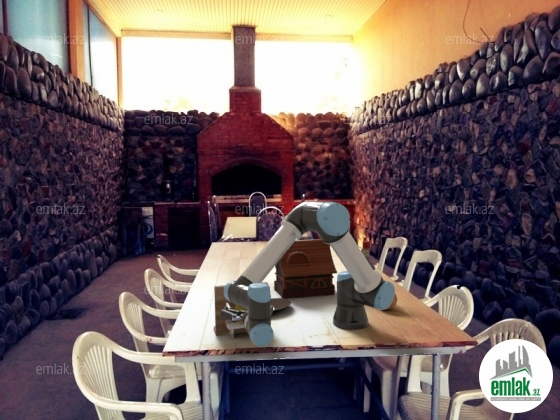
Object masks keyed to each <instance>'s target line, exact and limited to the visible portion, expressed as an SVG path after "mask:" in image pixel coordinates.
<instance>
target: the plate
mask: <svg viewBox="0 0 560 420" xmlns="http://www.w3.org/2000/svg"><path fill="white" fill-rule="evenodd" d="M291 304H292V301H291V299H284V298H281V297H271V305H273V312H275V311H278V310H282V309H285V308H287V307H289V306H291Z"/></svg>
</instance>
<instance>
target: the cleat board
mask: <svg viewBox="0 0 560 420" xmlns="http://www.w3.org/2000/svg"><path fill="white" fill-rule="evenodd" d="M262 283H265V284H268V285H269V283H268V281H262ZM225 285H226V284H224V285H214V286H213V287H214V290H213V291H214V293H213V294H214V326H213V330H214V334H215V336H226V335H229V336H230V337H231V339H234V338H235V337H234V336H235V335H236V334H246V333H248V332H247V330H246V328H245V327H244V325H243V324H240V322H239V320H237V321H236V322H235V323H234V322H232V321H231V320H229V319H226V318H224V317H222V316H221V309H224V308H225V307H226V303H228V304H229V306H230V309H233V310H236V309H235V304H233V303H231V302H230V301H228V300H227V299H226V298H225V296H224V287H225Z"/></svg>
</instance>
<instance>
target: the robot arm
mask: <svg viewBox="0 0 560 420" xmlns="http://www.w3.org/2000/svg"><path fill="white" fill-rule="evenodd" d="M350 219H351V216H350V213H349V210H348V209H347V208H346V207H345V206H344V205H342V204H341V203H338V202H334V201H321V200H320V201H318V200H317V201H316V200H306V201H303V202H301V203H300V204H298V205H296V206H295V207H294V208H293V209H291V211H289V213H288V214H286V215H285V217H284V218H283V219H282V220H281V222H280V227H279V228H278V229H277V230H276V232H275V233H274V234H273V235H272V237H271V238H270V239H269V240H268V242H267V243H266V244H265V245H264V246H263V247H262V248H261V250H260V251H259V252H258V254H257V255H256V256H255V257H254V259H253V260H252V261H251V262H250V263H249V265H248V266H247V267H246V268H245V270H243V272H242V273H241V274H240V275H239V277H237V279H236V280H230V281H228V282H227V283H226V284H224V285H225V287H224V296H225V298H226V299H227V300H228V301H230V302H231V303H233V304H237V305H239V306H241V307H243V308H246V309H248V310H247V311H243V310H240V311H237V310H233V309H230V306H229V304H228V303H226V307H225V308H224V309H221V316H222V317H224V318H226V319H229V320H231V321H232V322H234V323H235V322H236V321H237V320H240V321H242V323H243V325H244V327H245V328H246V330H247V332H246V333H247V334H248V336H249V339H250V341H251V342H252V343H253V345H255V346H257V347H259V348H265V347H267V346H269V345H270V344H271V343H272V342H273V340H274V338H275V336H274V335H275V334H274V333H275V332H274V329H273V327H272V317H271V316H272V314H273V313H274V311H273V310H274V307H273V305H271V298H272V295H271V286H270V285H269V283H268V284H265V283H262V282H264V280H265V279H266V278H267V276H268V275H269V274H270V273H271V271H272V270H273V269H275V265H276V264H277V263H278V261H279V260H280V259H281V258H282V256H283V255H284V254H285V253H286V251H287V250H288V249H289V248H290V246H291V245H292V244H293V243H294V241H297V240H298V239H301V238H302V237H303V235H305V234H306V233H308V232H312V233H316V234H317V235H318V237H319V239H321V240H322V241H323V242H324V243H326V244H330V248H332V250H333V252H334V253H335V254H336V256H337V258H338V259H339V261H340V262H341V263H342V265H343V266H344V268H345V269H346V270H343V271H340V272H337V276H336V308H335V310H334V314H333V317H332V324H333V325H334V327H337V328H341V329H345V330H360V329H364V328H367V327H368V326H369V317H368V314H367V311H366V308H365V306H366V307H369V308H373V309H375V310H380V311H383V310H384V309H386V310H388V309H387V308H388V307H389V306H390V305H391V304H392V302H393V299H394V295H395V294H396V289H395V288H396V287H395V285H394V283H393V282H391V281H389V280H385V279H384V278H383V276H382V275H381V273H380V272H379V271H378V270H376V269H375V270H373V269H372V267H371V266H370V264H369V263H368V261H367V260H366V258H365V256H364V255H363V251H362V250H361V248H360V247H359V245H358V244H357V242H356V241H355V239H354V238H353V235H352V234H351V233H350V228H351V227H350V225H351V220H350Z"/></svg>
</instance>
